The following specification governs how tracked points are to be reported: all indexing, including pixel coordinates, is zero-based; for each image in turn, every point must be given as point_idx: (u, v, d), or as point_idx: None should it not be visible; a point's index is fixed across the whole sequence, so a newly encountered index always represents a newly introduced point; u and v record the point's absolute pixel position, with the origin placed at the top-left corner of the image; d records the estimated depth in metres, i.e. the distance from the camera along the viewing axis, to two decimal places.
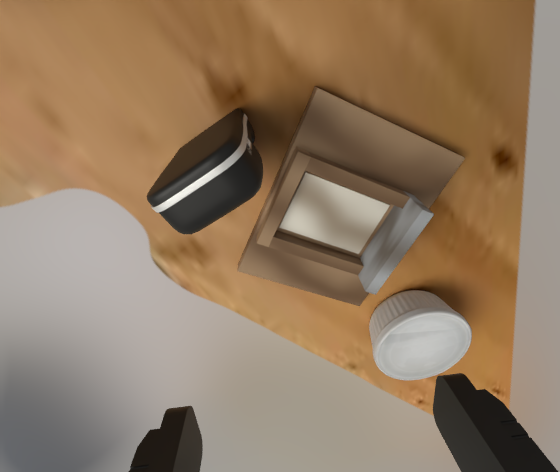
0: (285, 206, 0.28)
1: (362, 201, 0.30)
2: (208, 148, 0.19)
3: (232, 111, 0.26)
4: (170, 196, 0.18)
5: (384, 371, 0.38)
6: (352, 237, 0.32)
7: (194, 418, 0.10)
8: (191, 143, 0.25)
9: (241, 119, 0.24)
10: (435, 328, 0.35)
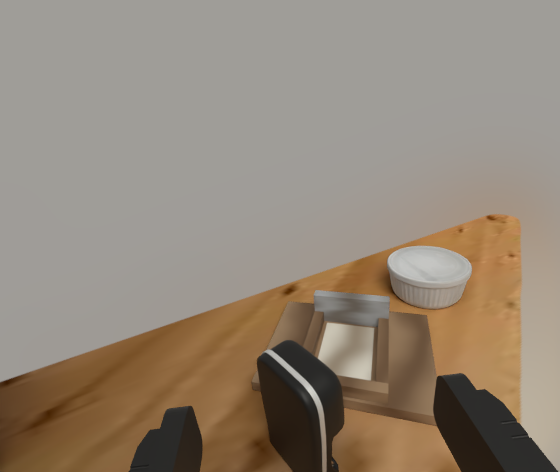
0: (341, 377, 0.33)
1: (328, 337, 0.40)
2: (269, 384, 0.25)
3: (272, 442, 0.29)
4: (297, 381, 0.22)
5: (467, 272, 0.43)
6: (360, 335, 0.40)
7: (194, 418, 0.10)
8: (299, 465, 0.26)
9: None
10: (405, 264, 0.48)
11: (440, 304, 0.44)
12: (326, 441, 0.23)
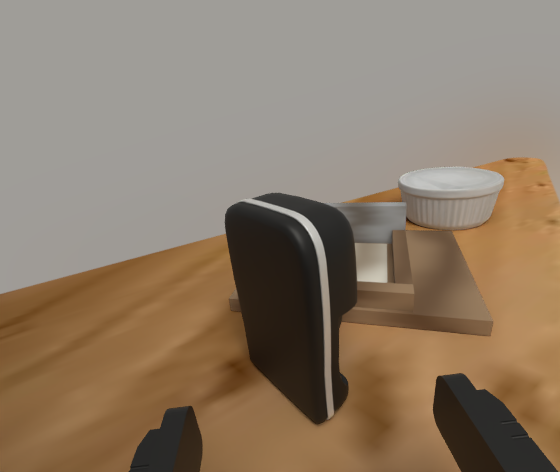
0: None
1: None
2: (242, 247, 0.16)
3: (252, 359, 0.21)
4: (283, 214, 0.14)
5: (499, 180, 0.35)
6: (370, 250, 0.31)
7: (194, 418, 0.10)
8: (289, 375, 0.17)
9: None
10: (420, 181, 0.39)
11: (466, 221, 0.36)
12: (331, 317, 0.14)
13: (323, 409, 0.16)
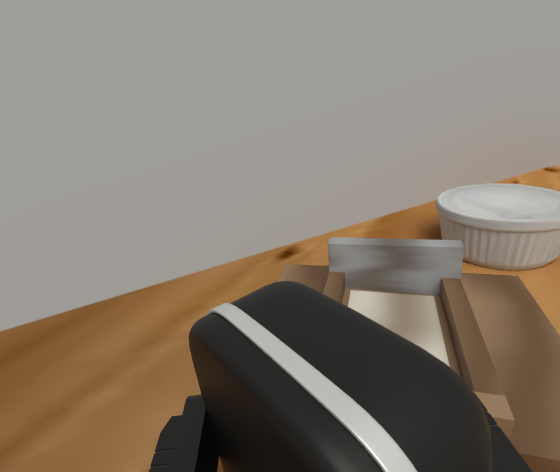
0: None
1: None
2: (222, 410, 0.08)
3: None
4: (320, 408, 0.05)
5: None
6: (412, 307, 0.23)
7: None
8: None
9: None
10: (466, 204, 0.31)
11: (533, 260, 0.27)
12: None
13: None
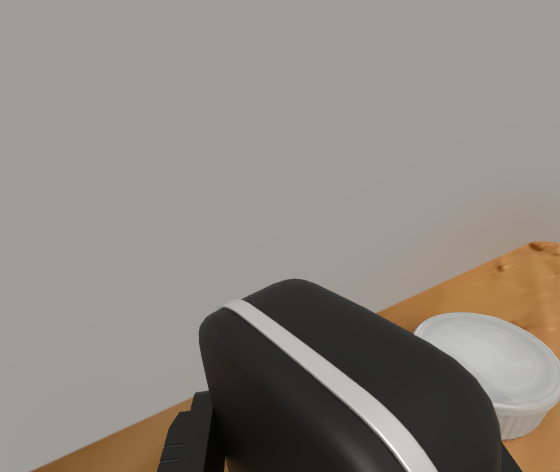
0: None
1: None
2: (232, 404, 0.08)
3: None
4: (334, 398, 0.05)
5: None
6: None
7: None
8: None
9: None
10: None
11: (512, 436, 0.25)
12: None
13: None
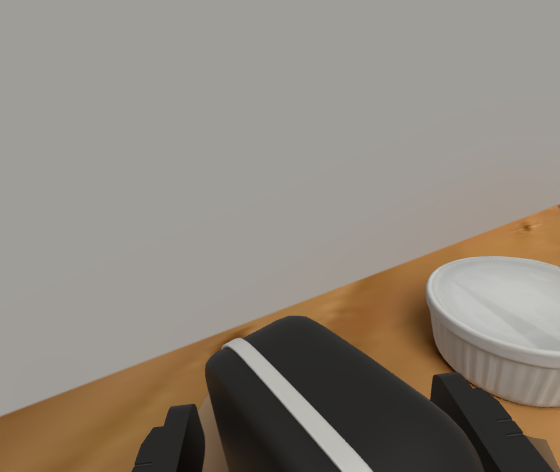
0: None
1: None
2: (235, 440, 0.08)
3: None
4: (325, 457, 0.06)
5: None
6: None
7: (197, 416, 0.10)
8: None
9: None
10: (467, 297, 0.22)
11: None
12: None
13: None
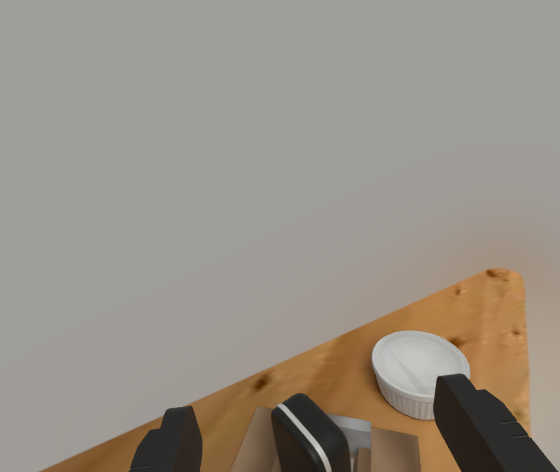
0: None
1: None
2: (282, 436, 0.27)
3: None
4: (307, 440, 0.24)
5: None
6: None
7: (194, 418, 0.10)
8: None
9: None
10: (392, 360, 0.41)
11: None
12: None
13: None
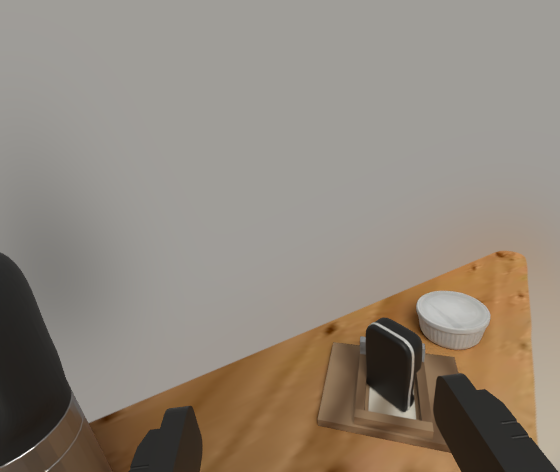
0: (393, 416, 0.41)
1: None
2: (375, 342, 0.42)
3: (368, 383, 0.47)
4: (398, 338, 0.40)
5: (487, 319, 0.52)
6: None
7: (194, 418, 0.10)
8: (391, 392, 0.43)
9: None
10: (432, 309, 0.56)
11: (464, 346, 0.52)
12: (413, 373, 0.40)
13: (406, 406, 0.42)
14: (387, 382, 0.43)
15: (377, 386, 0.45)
